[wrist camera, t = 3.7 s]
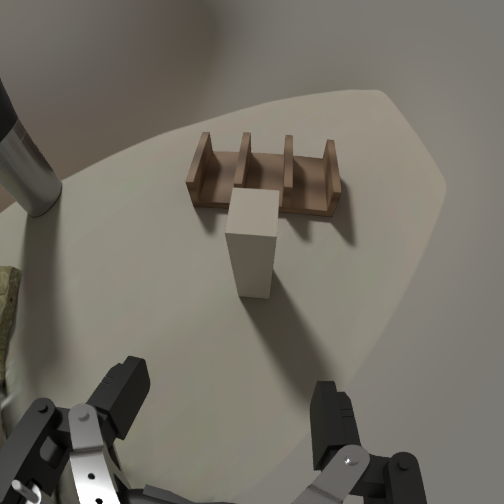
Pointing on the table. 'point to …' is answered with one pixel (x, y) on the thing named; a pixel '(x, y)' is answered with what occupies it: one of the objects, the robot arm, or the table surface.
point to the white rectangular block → (252, 239)
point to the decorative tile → (7, 307)
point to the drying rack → (265, 177)
